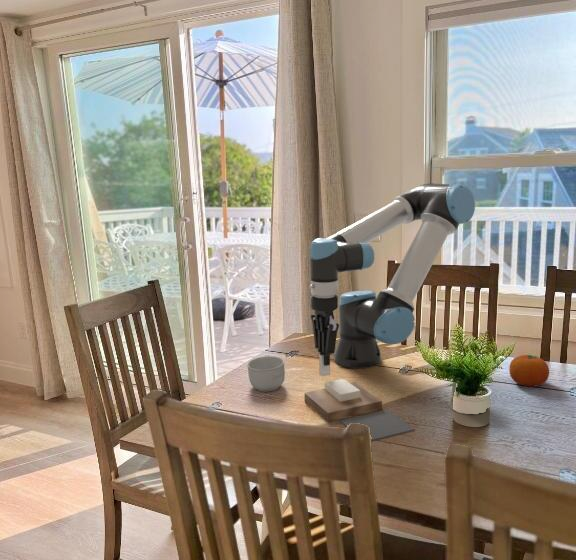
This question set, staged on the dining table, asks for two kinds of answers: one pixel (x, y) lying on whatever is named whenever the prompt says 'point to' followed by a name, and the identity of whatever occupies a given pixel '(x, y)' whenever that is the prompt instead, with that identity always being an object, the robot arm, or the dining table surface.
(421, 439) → the dining table surface
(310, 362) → the dining table surface
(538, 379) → the fruit
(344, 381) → the white rectangular block
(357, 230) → the robot arm
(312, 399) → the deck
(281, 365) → the teacup
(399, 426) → the mat
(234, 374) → the dining table surface
